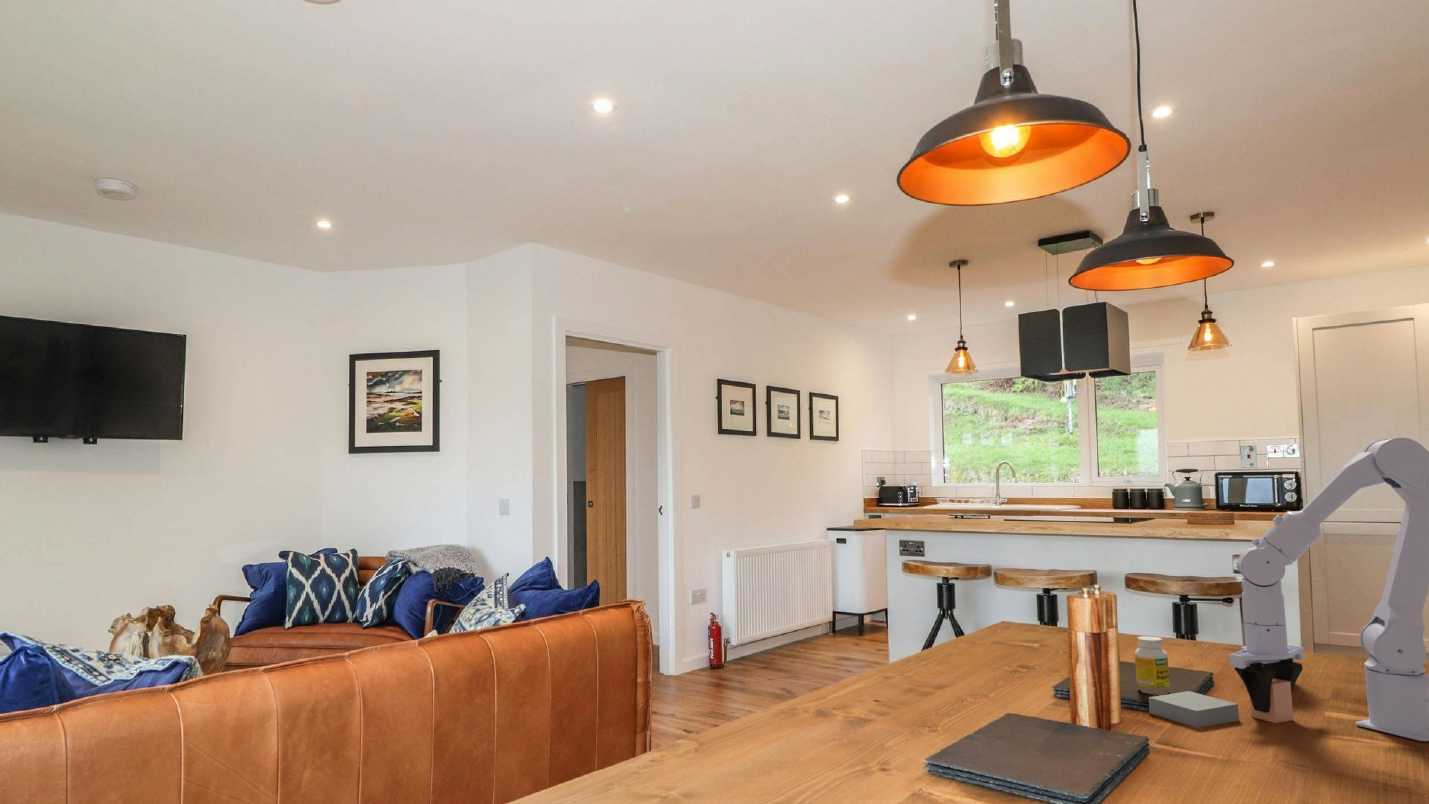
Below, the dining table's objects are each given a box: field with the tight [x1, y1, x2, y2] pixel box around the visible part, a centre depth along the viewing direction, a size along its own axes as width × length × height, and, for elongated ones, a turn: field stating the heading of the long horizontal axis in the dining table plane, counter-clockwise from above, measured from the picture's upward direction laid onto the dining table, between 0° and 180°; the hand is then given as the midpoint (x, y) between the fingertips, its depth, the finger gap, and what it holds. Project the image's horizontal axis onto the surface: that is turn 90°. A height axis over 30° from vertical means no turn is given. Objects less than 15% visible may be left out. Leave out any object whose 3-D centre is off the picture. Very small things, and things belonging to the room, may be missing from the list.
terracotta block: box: [1249, 678, 1294, 724], centre depth 136 cm, size 4×4×6 cm
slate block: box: [1148, 690, 1240, 729], centre depth 138 cm, size 9×9×3 cm
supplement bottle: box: [1134, 635, 1171, 688], centre depth 154 cm, size 5×5×10 cm
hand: (1271, 709), depth 136 cm, fingers closed on terracotta block, 4 cm apart
